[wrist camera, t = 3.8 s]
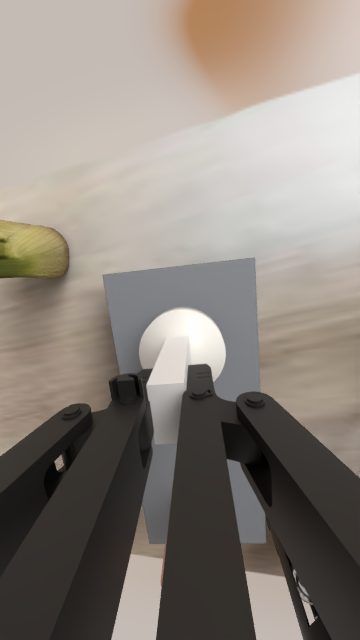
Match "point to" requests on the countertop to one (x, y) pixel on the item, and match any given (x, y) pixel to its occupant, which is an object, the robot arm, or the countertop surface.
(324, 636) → the french press
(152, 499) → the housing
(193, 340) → the white rounded knob
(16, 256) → the fennel bulb
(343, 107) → the countertop surface
